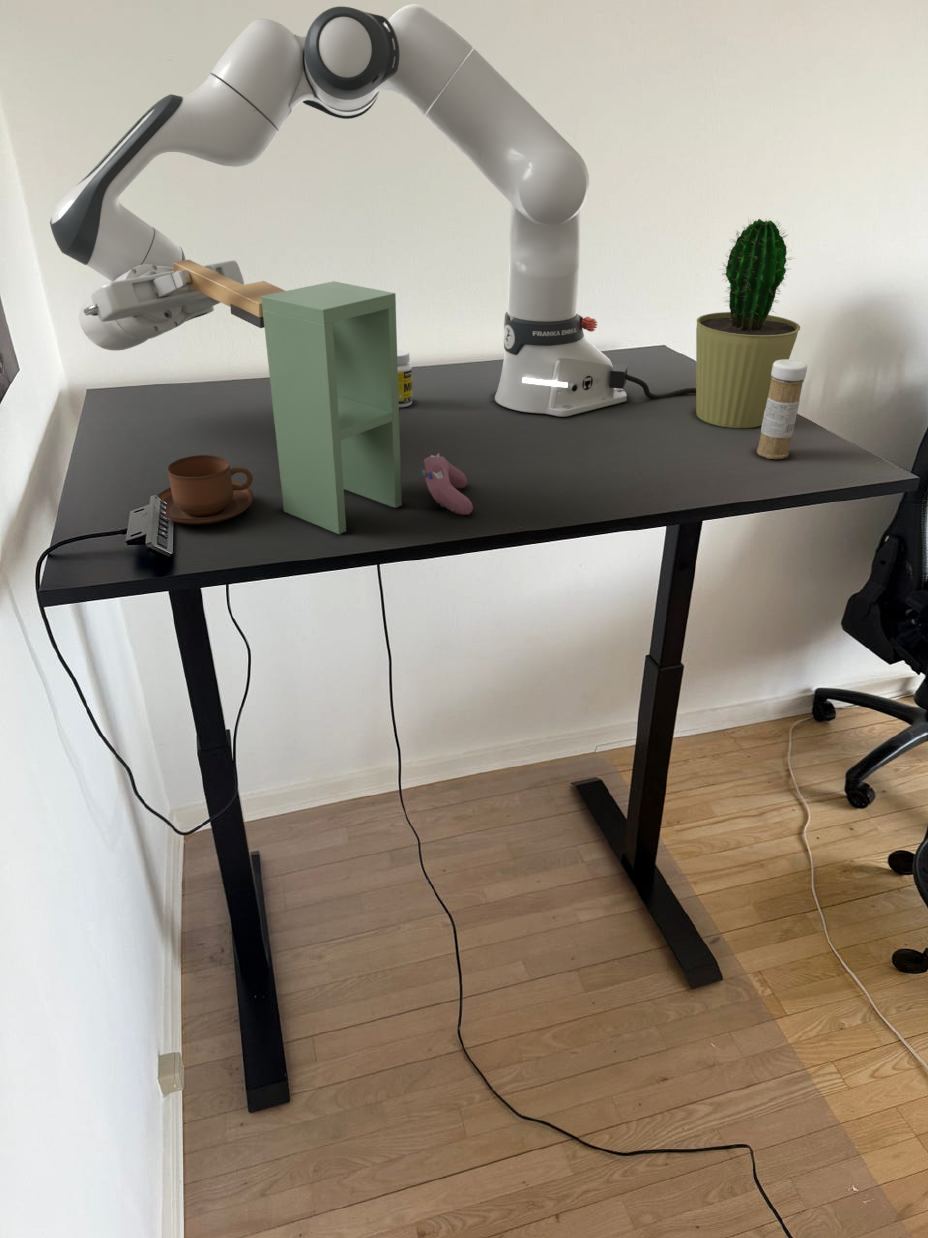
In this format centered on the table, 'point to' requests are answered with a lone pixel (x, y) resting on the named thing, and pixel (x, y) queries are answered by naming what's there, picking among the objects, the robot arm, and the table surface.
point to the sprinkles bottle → (781, 408)
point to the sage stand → (334, 398)
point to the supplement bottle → (404, 378)
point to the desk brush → (229, 291)
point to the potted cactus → (744, 333)
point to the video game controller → (446, 485)
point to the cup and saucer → (205, 490)
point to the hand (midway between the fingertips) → (199, 274)
